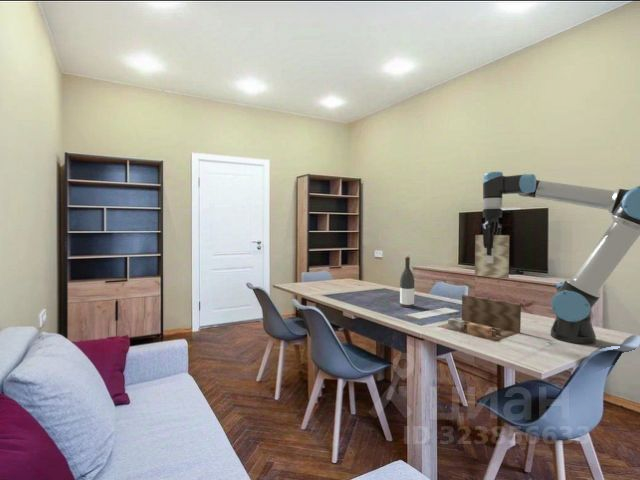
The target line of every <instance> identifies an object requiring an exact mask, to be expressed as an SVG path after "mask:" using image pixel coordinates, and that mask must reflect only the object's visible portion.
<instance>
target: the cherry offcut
mask: <svg viewBox="0 0 640 480" xmlns="http://www.w3.org/2000/svg"><path fill="white" fill-rule="evenodd" d="M467 333H468V334H472V335H476V336H480V337H483V338H487V339H489V338H492V327H488V326H483V325H479V324H475V323H468V324H467Z"/></svg>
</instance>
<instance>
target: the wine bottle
mask: <svg viewBox="0 0 640 480" xmlns="http://www.w3.org/2000/svg"><path fill="white" fill-rule="evenodd" d="M404 258H405V259H404V260H405V265H404V267H405V268H404V270H403V271H402V273H401V275H400V278H399V306H400V307H403V308H413V307H415V276H414V273H413V272H412V270H411V267H410V266H411V265H410V261H411V257H410V254H405V257H404Z"/></svg>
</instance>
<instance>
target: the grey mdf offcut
mask: <svg viewBox="0 0 640 480" xmlns="http://www.w3.org/2000/svg"><path fill="white" fill-rule="evenodd" d="M447 324H448V328H449V329H453V330H457V331H464V321H462V319H460V320H458V318H453V317H451V318H448V319H447Z"/></svg>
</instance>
